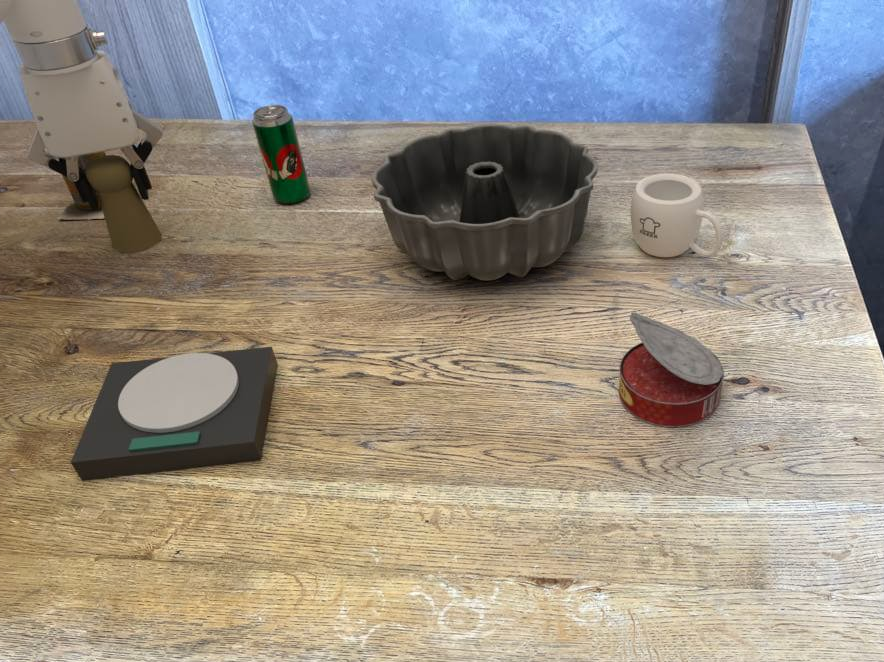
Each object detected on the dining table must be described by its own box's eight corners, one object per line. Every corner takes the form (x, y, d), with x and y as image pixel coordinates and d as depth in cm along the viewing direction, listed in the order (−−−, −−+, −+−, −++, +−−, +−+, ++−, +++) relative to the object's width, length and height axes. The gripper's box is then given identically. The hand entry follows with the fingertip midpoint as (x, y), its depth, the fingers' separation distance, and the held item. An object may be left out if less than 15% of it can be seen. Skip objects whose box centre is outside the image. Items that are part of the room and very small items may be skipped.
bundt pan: (398, 195, 112) (386, 124, 105) (590, 188, 111) (591, 116, 104) (370, 308, 92) (353, 230, 85) (603, 300, 92) (605, 220, 85)
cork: (107, 255, 103) (70, 173, 95) (118, 230, 107) (83, 151, 100) (157, 249, 103) (124, 168, 96) (165, 225, 108) (135, 146, 100)
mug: (615, 249, 100) (616, 189, 94) (656, 221, 104) (660, 163, 99) (698, 283, 93) (704, 222, 88) (737, 252, 98) (746, 192, 93)
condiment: (133, 188, 116) (99, 105, 108) (111, 218, 109) (74, 132, 101) (82, 191, 116) (44, 107, 108) (57, 221, 109) (15, 135, 101)
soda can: (316, 189, 114) (296, 104, 106) (302, 206, 110) (280, 120, 102) (282, 187, 114) (260, 102, 106) (267, 204, 111) (243, 118, 103)
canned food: (636, 397, 86) (648, 303, 84) (729, 418, 82) (745, 319, 79) (591, 418, 76) (604, 313, 74) (694, 443, 72) (712, 332, 70)
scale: (81, 480, 74) (67, 457, 72) (120, 381, 84) (109, 358, 82) (261, 460, 75) (252, 437, 73) (277, 364, 85) (270, 341, 83)
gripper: (138, 26, 94) (189, 173, 106) (-26, 51, 89) (47, 201, 102) (140, 47, 89) (194, 199, 101) (-34, 74, 84) (44, 230, 96)
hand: (120, 199), depth 101 cm, fingers closed on cork, 5 cm apart
